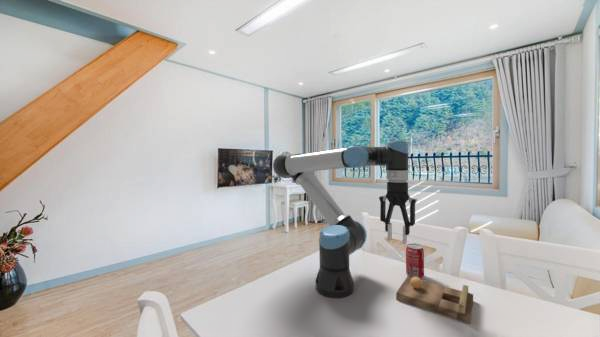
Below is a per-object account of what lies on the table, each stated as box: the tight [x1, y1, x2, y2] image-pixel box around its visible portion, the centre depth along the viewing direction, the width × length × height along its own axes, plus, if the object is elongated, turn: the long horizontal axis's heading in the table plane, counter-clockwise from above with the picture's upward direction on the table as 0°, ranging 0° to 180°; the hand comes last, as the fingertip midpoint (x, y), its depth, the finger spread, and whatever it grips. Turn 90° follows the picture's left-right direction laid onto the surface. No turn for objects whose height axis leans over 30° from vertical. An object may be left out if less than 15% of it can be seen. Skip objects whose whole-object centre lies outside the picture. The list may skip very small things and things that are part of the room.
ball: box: [410, 277, 423, 289], centre depth 91 cm, size 4×4×4 cm
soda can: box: [405, 243, 425, 279], centre depth 106 cm, size 7×7×13 cm
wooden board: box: [395, 275, 474, 324], centre depth 88 cm, size 22×15×5 cm
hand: (397, 241), depth 95 cm, fingers open, 5 cm apart
